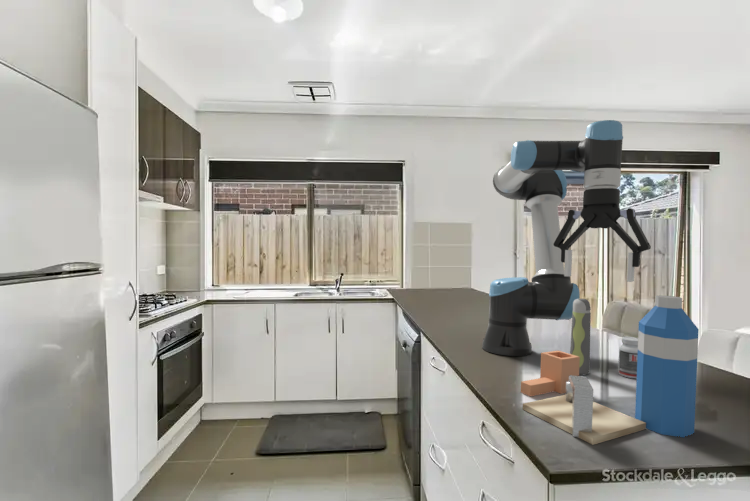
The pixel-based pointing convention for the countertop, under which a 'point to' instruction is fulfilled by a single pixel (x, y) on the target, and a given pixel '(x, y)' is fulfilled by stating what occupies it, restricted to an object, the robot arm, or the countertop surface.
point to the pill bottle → (628, 357)
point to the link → (552, 373)
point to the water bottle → (667, 369)
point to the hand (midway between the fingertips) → (597, 278)
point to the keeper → (581, 405)
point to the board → (603, 419)
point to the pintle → (569, 392)
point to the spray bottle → (581, 334)
